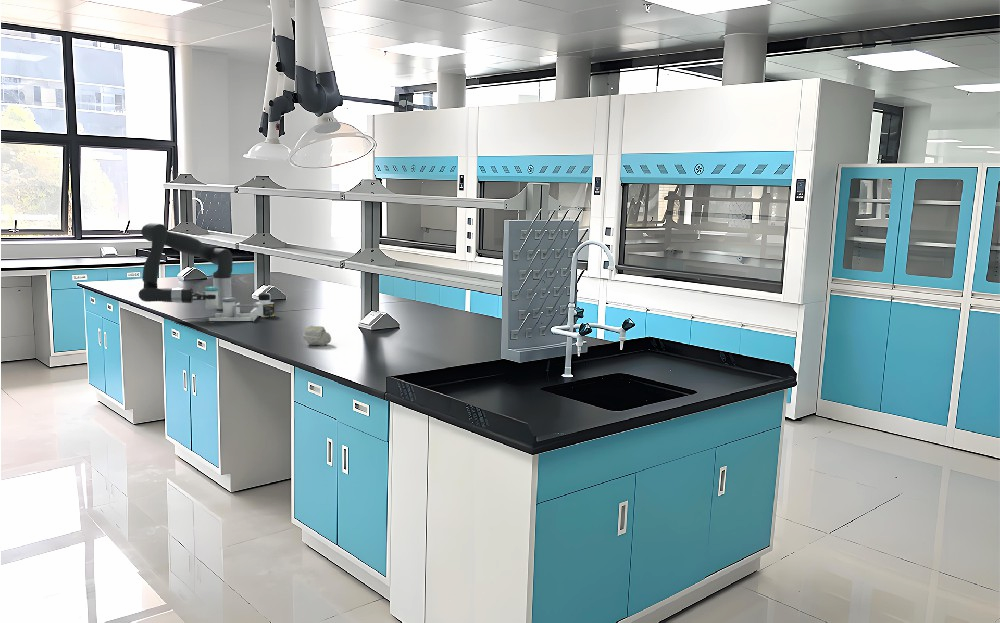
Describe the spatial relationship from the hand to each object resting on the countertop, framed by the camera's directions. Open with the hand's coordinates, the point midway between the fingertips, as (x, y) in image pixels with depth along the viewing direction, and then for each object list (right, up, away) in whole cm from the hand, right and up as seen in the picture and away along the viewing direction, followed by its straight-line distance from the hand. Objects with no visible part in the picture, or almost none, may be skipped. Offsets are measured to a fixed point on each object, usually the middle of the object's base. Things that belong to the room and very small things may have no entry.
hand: (216, 296), depth 388 cm
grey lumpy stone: (+63, -23, -51) cm, 84 cm away
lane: (+7, -12, +3) cm, 14 cm away
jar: (-3, -6, +1) cm, 7 cm away
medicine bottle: (+20, -10, +16) cm, 27 cm away
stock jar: (+5, -12, +3) cm, 13 cm away
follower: (+14, -12, +4) cm, 19 cm away
